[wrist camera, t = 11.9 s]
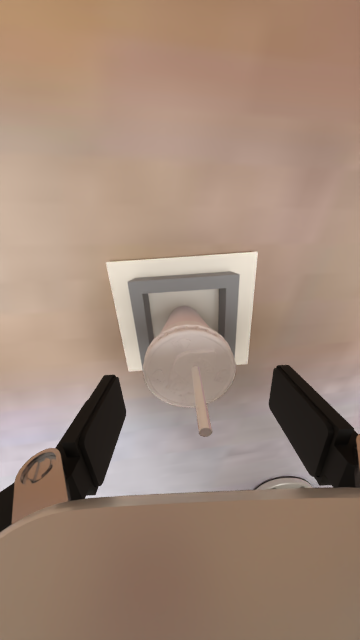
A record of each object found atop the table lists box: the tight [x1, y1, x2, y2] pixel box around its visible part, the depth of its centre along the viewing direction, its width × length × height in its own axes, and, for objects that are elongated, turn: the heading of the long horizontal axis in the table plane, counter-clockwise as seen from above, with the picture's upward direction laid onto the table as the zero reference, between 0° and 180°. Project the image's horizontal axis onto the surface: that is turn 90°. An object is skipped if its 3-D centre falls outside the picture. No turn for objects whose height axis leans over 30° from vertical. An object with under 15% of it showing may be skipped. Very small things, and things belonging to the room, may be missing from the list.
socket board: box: [106, 252, 258, 371], centre depth 19 cm, size 16×14×4 cm
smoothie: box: [143, 306, 236, 437], centre depth 14 cm, size 6×6×14 cm
